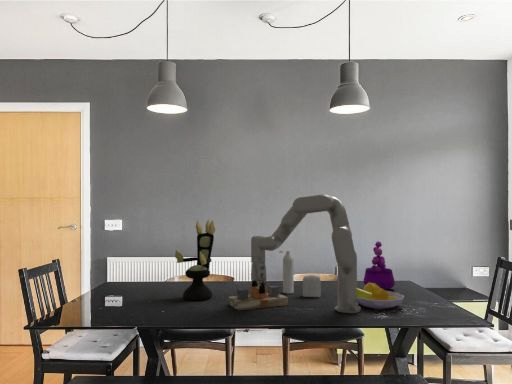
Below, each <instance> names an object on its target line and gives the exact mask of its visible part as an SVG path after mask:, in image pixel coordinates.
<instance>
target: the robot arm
mask: <svg viewBox="0 0 512 384" xmlns="http://www.w3.org/2000/svg"><path fill="white" fill-rule="evenodd" d="M321 212H327V213H328V214H329V217H330V219H329V220H330V223H331V228H332V232H331V242H332V247H333V250H334V251H333V252H334V256H335V260H336V263H337V305H336V306H334V311H336V312H337V313H342V314H358V313H360V312H361V306H359V303H357V288H358V256H357V252H356V250H355V246H354V241H353V234H352V231H351V227H350V222H349V218H348V215H347V214H348V213H347V210H346V207H345V205H344V204H343V202H341V200H340V199H338V198H337V197H335V196H333V195H330V194H324V193H323V194H315V195H309V196H308V195H307V196H299V197H296V198H295V199H294V200H293V203H292V206H291V207H290V208H289V210H288V211H287V212H286V213H285V214H284V215H283V216H282V218H281V221H280V224H279V226H278V227H277V228H276V229H275V231H274V232H273V233H272V235H270V236H264V235H263V236H262V235H254V236H253V235H252V236H251V239H250V245H251V246H250V254H251V255H250V256H251V257H250V262H251V268H250V269H251V274H250V277H251V278H250V279H251V287H256V286H259V294H264V293H265V288H266V283H267V267H266V251H270V252H272V251H275V250H277V249H279V248H280V247H281V246H282V245H283V244H284V243H285V241H286V240H287V239H288V237H290V236H291V234H292V232H294V231H295V229H296V228H297V226H299V224H300V223H301V222H302V220H303V219H304V218H305V217H306V216H307V215H308V214H312V213H321ZM258 284H259V285H258Z"/></svg>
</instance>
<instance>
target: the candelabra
mask: <svg viewBox="0 0 512 384" xmlns="http://www.w3.org/2000/svg"><path fill="white" fill-rule="evenodd" d="M195 229H196V234H197V236H196V248H197V251H196V255H197V256H193V257H185V258H184V257H183V254H182V253H181V252H180V251H178V250H177V249H175V257H174V258H175V260H176V263H177V264H179V263H188V262H195V261H196V265H192V266H189V268H188V269H186V271H185V276H186V277H187V278H189V279H192V281H191V282H192V283H191V284H190V285H189V286H188V287H187V288H185V290H184V292H182V293H183V294H182V298H183V299H184V300H186V301H191V302H192V301H193V302H195V301H196V302H197V301H199V302H200V301H205V300H210V299H211V298H212V297H213V292H212V290H211V289H210V288H209V287H208V286H207V285H206V284H205V283H204V280H203V279H205V278H208V277H209V276H210V274H211V271H210V264H211V262H212V258H211V255H212V252H213V250H212V249H213V246H214V240H215V239H214V238H215V236H214V234H215V232H216V227H215V223H214V220H213V219H212V220H211V222H210V219H209V218H208V219H207V221H206V223H205V232H203V227H202V226H201V224H200V222H199V220H198V219H197V220H196V224H195Z"/></svg>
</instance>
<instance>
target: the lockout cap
mask: <svg viewBox="0 0 512 384" xmlns="http://www.w3.org/2000/svg"><path fill="white" fill-rule="evenodd" d="M259 286H260V285H258V286H256V287H252V286H250V287H249V295H250V297H252V298H254V299H260V297H264V298H267V293H268V287H265V293H264V294H259Z"/></svg>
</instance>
